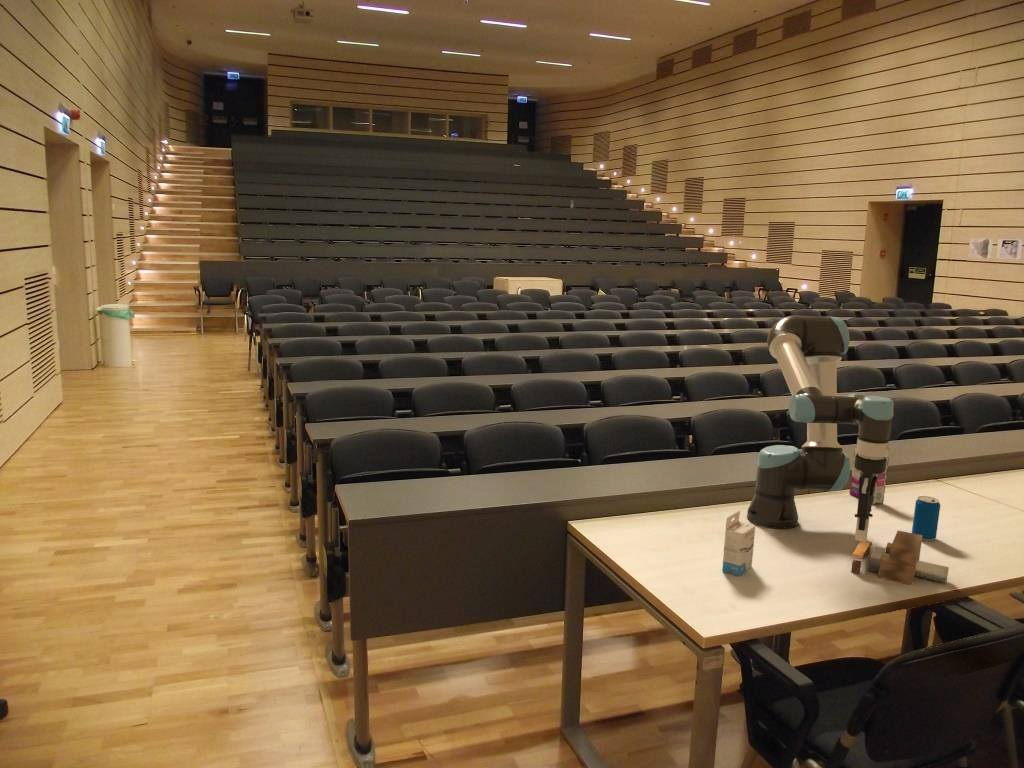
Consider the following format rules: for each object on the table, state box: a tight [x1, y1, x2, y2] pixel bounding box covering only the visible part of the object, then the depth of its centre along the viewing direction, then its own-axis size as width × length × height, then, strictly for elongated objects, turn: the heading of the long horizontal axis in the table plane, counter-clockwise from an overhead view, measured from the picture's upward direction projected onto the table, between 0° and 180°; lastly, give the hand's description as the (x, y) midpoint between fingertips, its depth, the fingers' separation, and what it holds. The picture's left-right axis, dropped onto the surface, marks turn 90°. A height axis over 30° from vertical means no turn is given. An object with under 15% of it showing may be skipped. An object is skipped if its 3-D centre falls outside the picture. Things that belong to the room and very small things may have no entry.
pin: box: [868, 545, 950, 583], centre depth 205 cm, size 18×9×4 cm, turn 57°
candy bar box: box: [849, 448, 890, 505], centre depth 264 cm, size 11×5×16 cm, turn 17°
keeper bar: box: [851, 540, 873, 559], centre depth 211 cm, size 3×15×1 cm, turn 147°
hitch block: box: [850, 530, 923, 586], centre depth 208 cm, size 15×16×9 cm
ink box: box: [721, 510, 756, 577], centre depth 204 cm, size 8×5×15 cm, turn 141°
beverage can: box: [911, 495, 941, 542], centre depth 230 cm, size 6×6×12 cm
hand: (860, 539), depth 208 cm, fingers closed
